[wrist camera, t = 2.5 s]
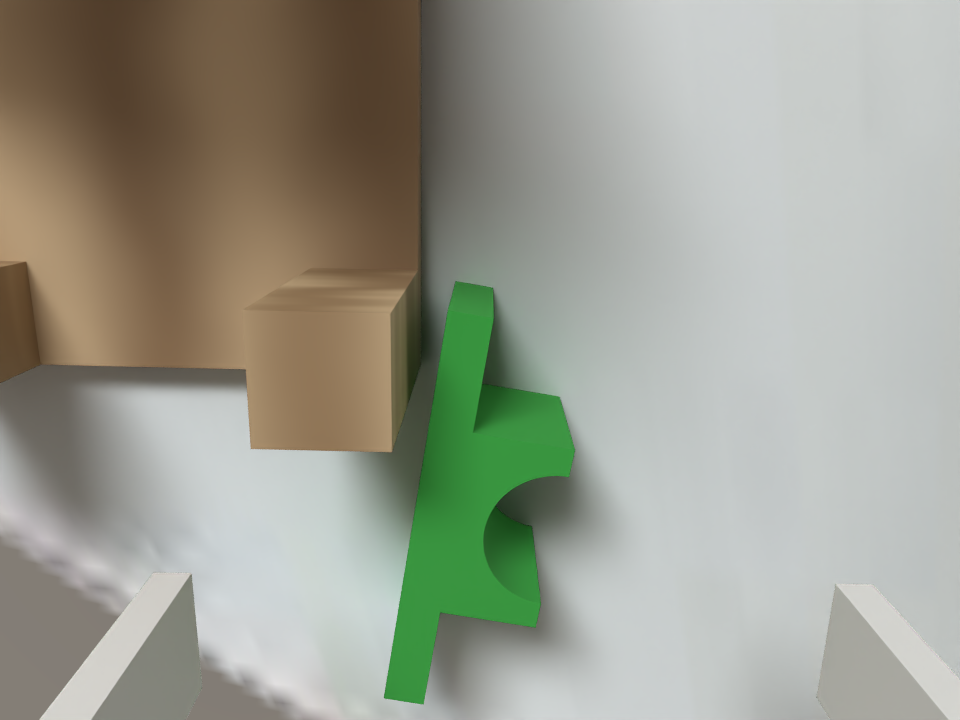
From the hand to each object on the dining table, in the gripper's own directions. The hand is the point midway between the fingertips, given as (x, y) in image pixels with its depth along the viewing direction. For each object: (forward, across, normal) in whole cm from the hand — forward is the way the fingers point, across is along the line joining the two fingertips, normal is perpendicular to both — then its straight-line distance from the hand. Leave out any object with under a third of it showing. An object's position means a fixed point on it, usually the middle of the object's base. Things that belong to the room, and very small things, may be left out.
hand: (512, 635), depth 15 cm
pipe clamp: (+9, +1, 0) cm, 9 cm away
